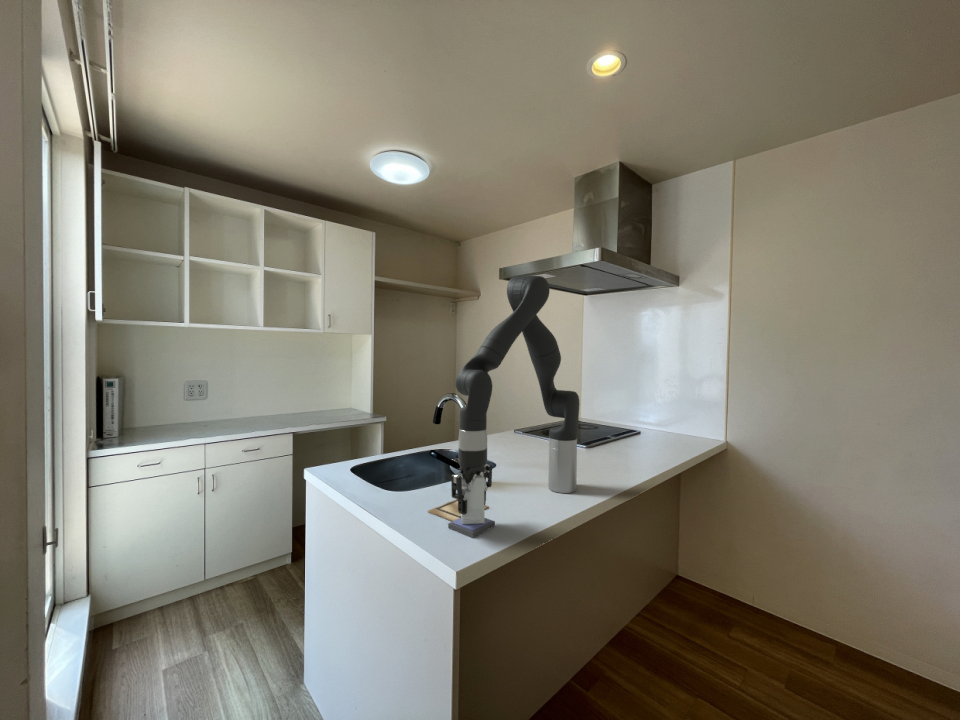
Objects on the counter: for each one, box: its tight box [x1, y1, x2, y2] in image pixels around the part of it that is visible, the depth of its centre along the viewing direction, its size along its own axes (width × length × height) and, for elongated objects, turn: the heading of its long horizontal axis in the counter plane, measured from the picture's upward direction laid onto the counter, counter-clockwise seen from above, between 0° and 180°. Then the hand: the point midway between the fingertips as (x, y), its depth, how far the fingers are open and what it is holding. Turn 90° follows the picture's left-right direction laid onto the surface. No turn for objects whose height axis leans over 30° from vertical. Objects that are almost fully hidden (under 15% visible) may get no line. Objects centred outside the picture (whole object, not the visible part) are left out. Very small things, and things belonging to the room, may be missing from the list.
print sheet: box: [427, 498, 490, 522], centre depth 113 cm, size 14×11×1 cm
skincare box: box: [461, 475, 485, 524], centre depth 102 cm, size 6×4×12 cm
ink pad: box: [447, 517, 496, 539], centre depth 102 cm, size 9×8×2 cm
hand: (472, 509), depth 102 cm, fingers closed on skincare box, 7 cm apart
